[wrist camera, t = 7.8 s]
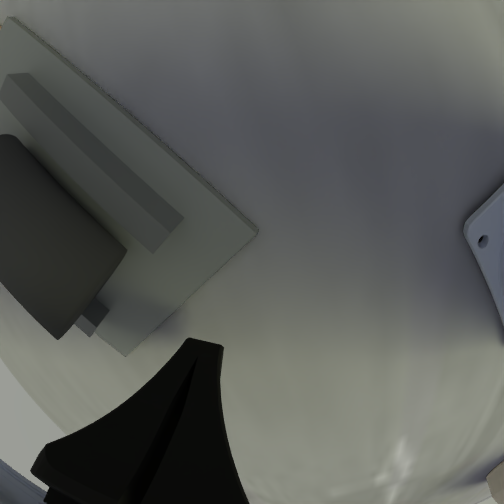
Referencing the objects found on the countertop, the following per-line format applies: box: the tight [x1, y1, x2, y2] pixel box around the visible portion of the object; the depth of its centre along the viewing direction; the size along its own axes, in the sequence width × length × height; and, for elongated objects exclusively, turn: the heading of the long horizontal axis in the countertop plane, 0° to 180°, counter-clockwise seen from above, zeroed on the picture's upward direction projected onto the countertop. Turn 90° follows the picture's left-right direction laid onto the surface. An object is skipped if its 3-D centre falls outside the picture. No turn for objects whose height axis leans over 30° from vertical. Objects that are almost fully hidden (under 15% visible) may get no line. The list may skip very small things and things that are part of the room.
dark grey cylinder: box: [0, 134, 127, 340], centre depth 8 cm, size 7×4×4 cm, turn 47°
